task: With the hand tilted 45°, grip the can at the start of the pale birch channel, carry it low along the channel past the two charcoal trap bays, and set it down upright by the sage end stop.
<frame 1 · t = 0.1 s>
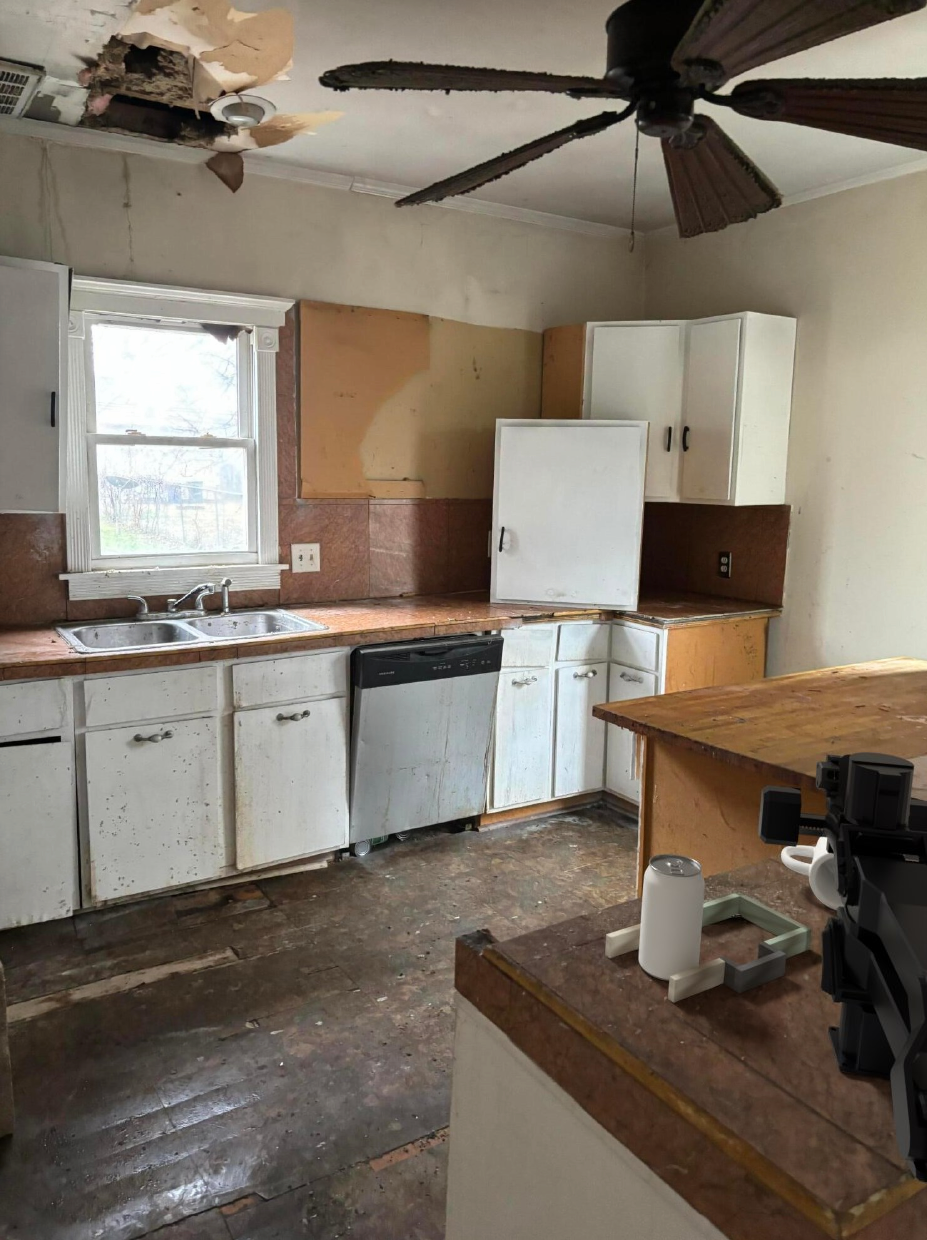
hand: (835, 797, 105), 17 cm above the table, tool horizontal, fingers open, 9 cm apart
can: (667, 968, 98), on the table
mug: (825, 894, 117), on the table
channel: (667, 966, 98), on the table
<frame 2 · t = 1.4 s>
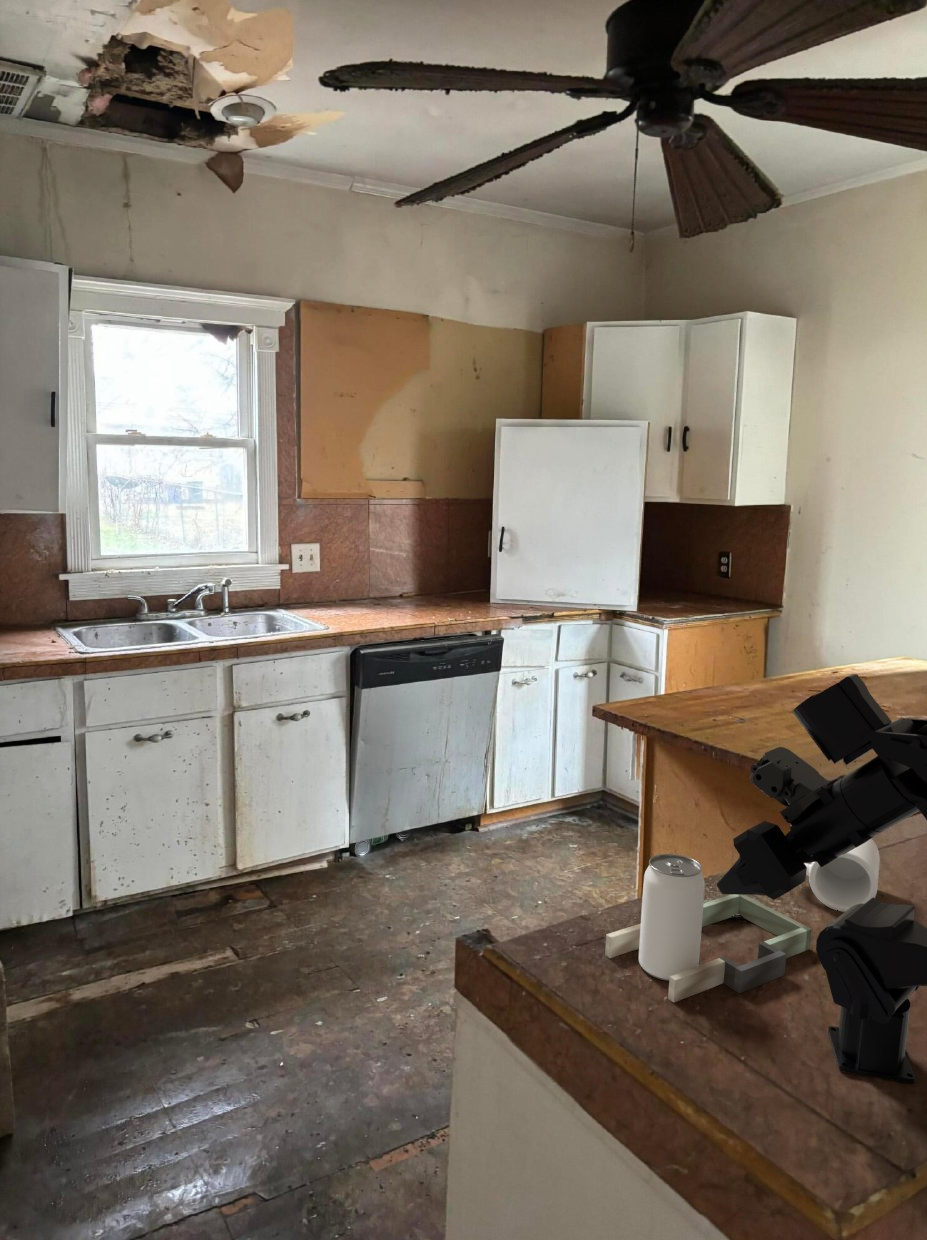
hand: (742, 875, 91), 13 cm above the table, tool tilted 45°, fingers open, 9 cm apart
nothing on the table moved.
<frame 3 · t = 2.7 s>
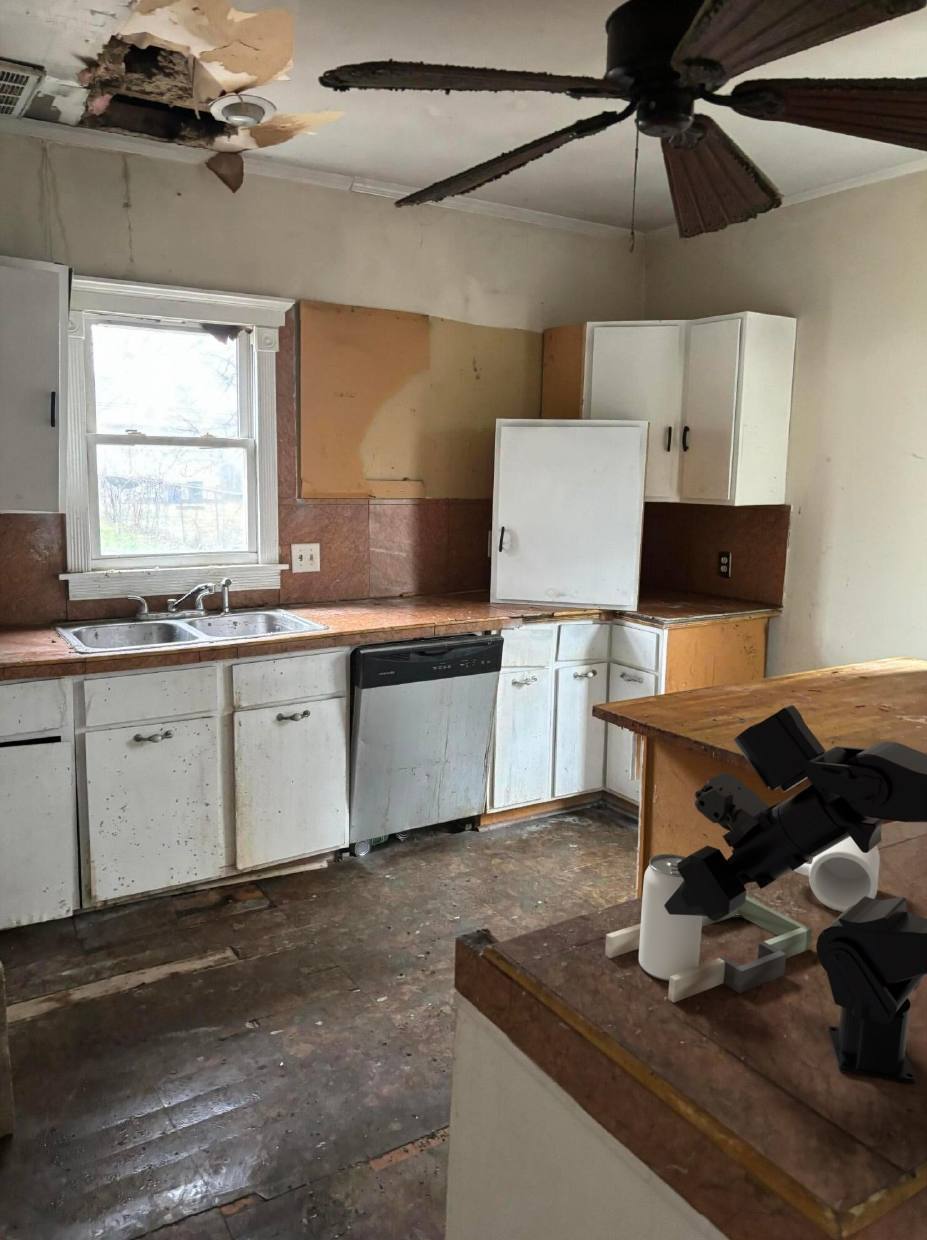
hand: (689, 895, 95), 9 cm above the table, tool tilted 45°, fingers open, 9 cm apart
nothing on the table moved.
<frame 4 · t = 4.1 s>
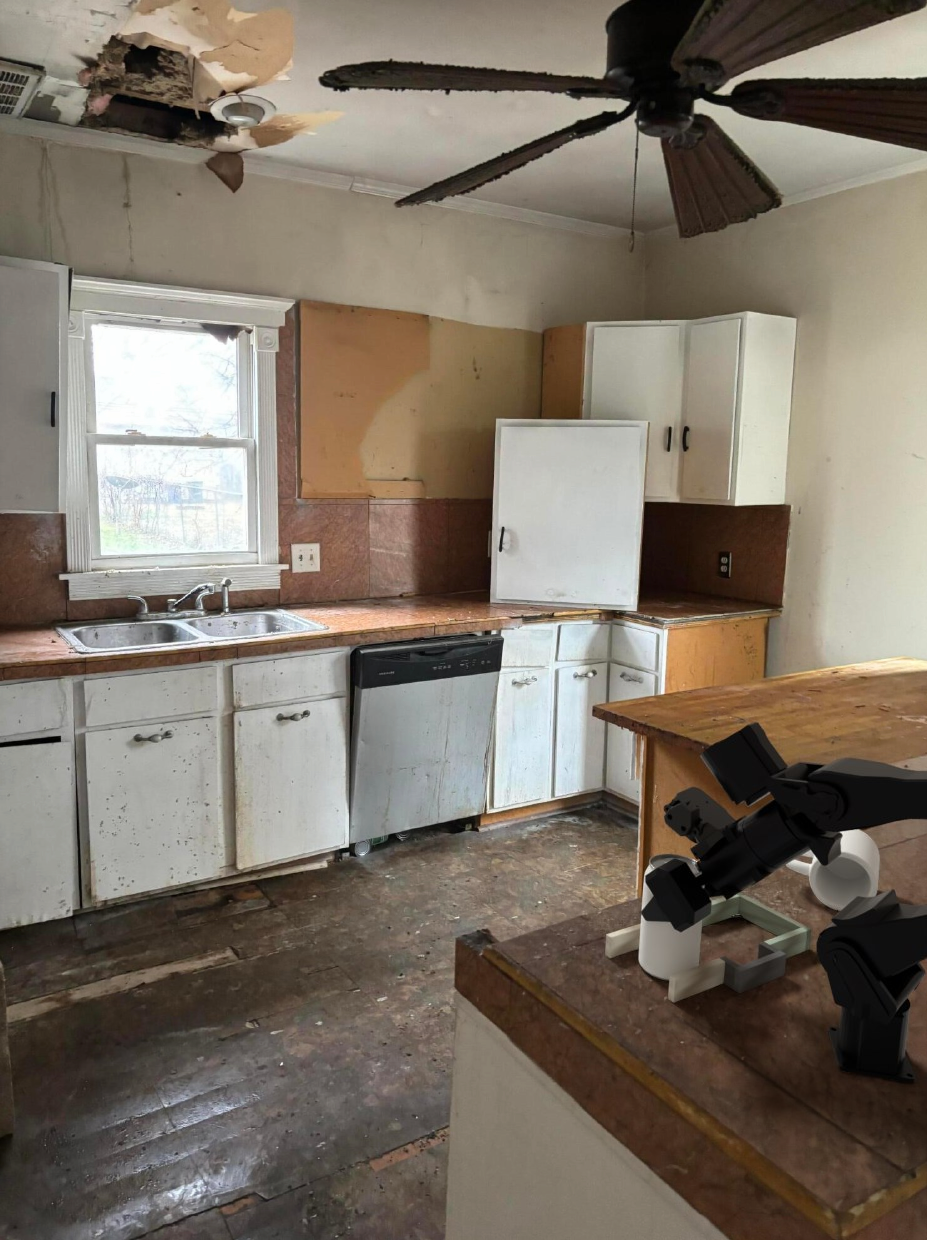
hand: (660, 906, 97), 7 cm above the table, tool tilted 45°, fingers closed on can, 6 cm apart
can: (667, 968, 98), on the table, touching gripper
everything else where it was.
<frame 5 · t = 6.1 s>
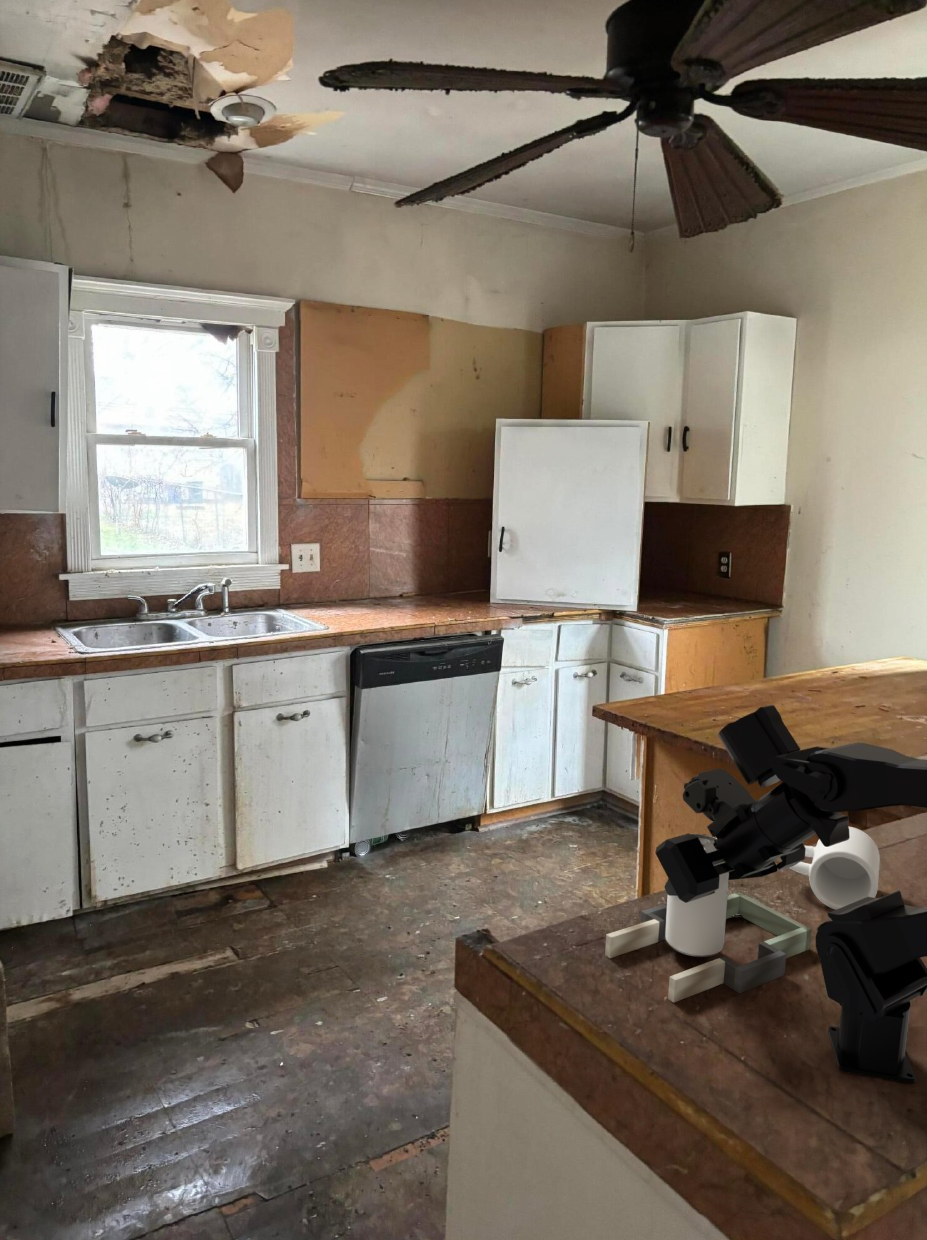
hand: (687, 884, 101), 8 cm above the table, tool tilted 45°, fingers closed on can, 6 cm apart
can: (693, 945, 100), point 1 cm above the table, touching gripper
everything else where it was.
when the fingers open (7 cm above the table, at t = 8.4 s): can stays where it is, on the table.
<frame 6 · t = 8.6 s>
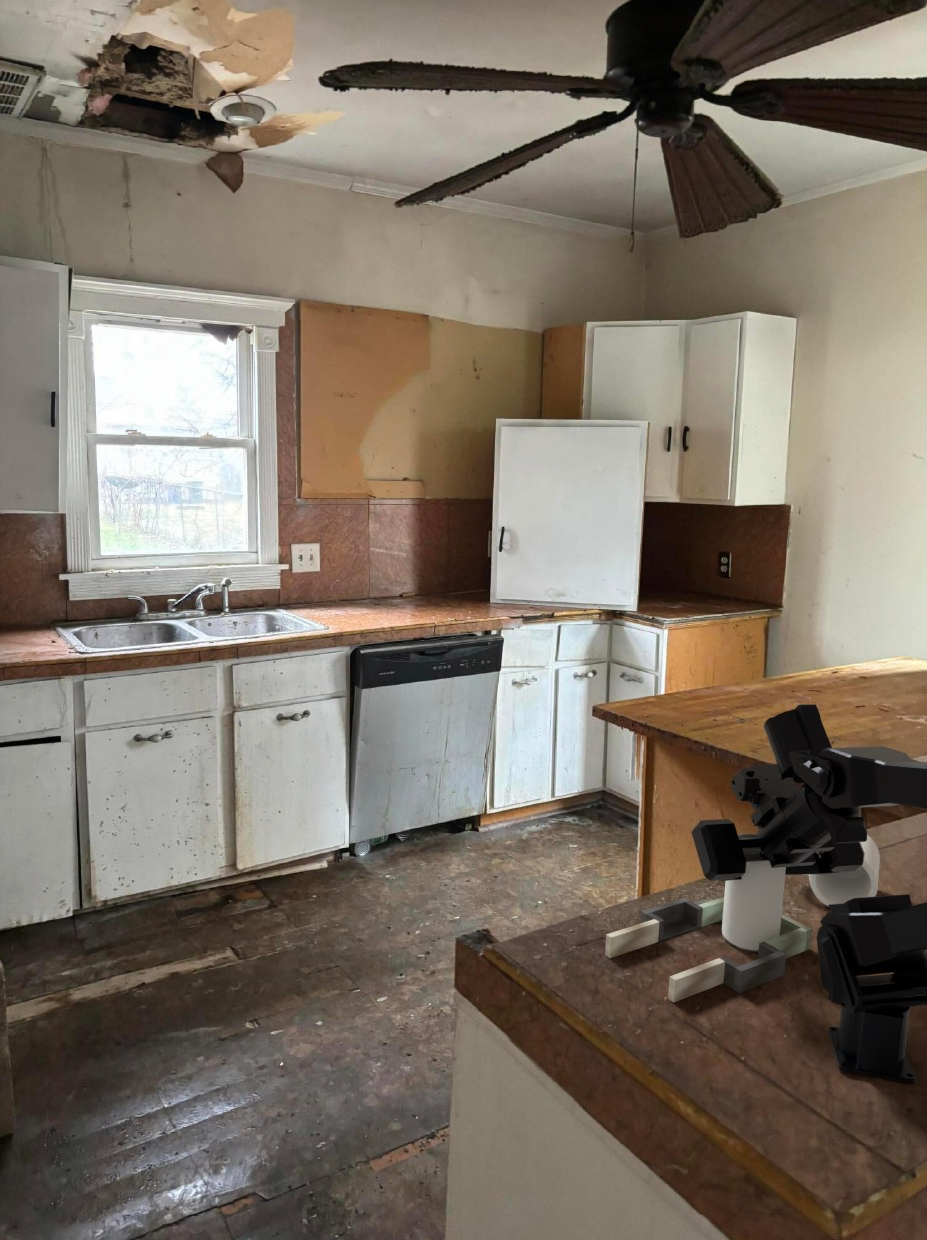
hand: (746, 872, 105), 8 cm above the table, tool tilted 45°, fingers open, 8 cm apart
can: (749, 941, 104), on the table
everything else where it was.
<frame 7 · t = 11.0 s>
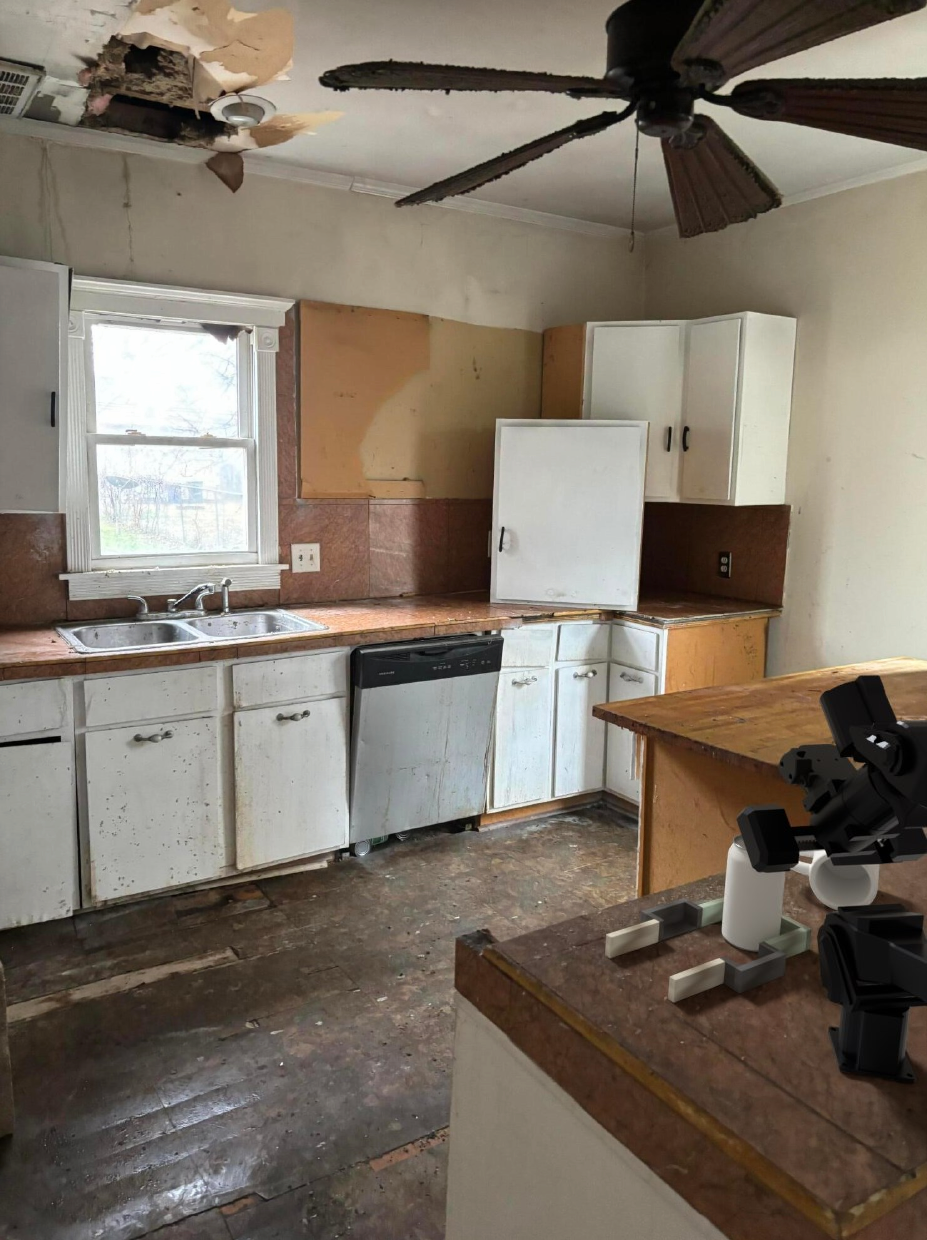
hand: (794, 864, 95), 13 cm above the table, tool tilted 45°, fingers open, 9 cm apart
nothing on the table moved.
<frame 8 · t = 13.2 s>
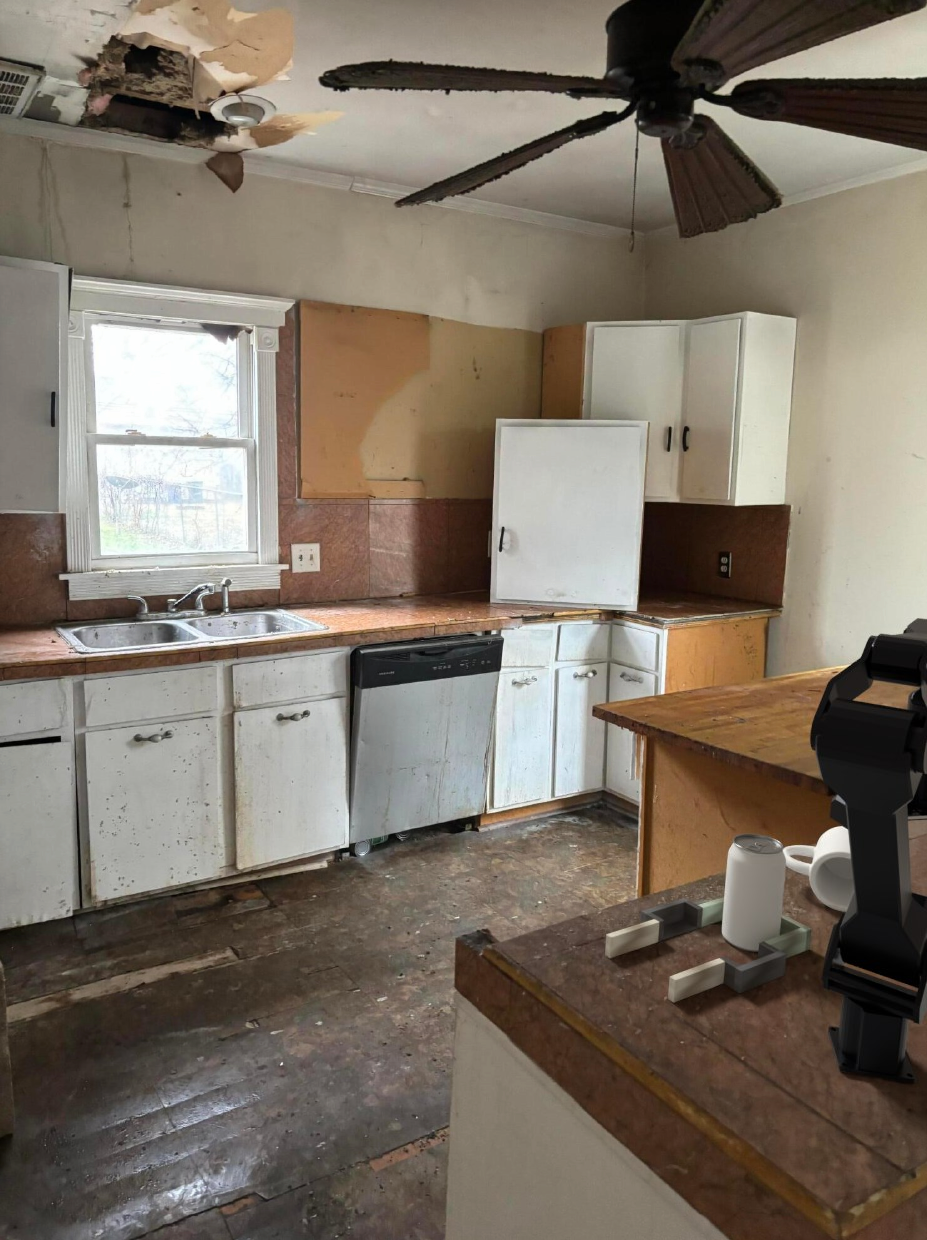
hand: (917, 889, 91), 12 cm above the table, tool pointing down, fingers open, 9 cm apart
nothing on the table moved.
at the end: can 0.5 cm from the target spot, on the table; can tilted 0°; the gripper is holding nothing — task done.
